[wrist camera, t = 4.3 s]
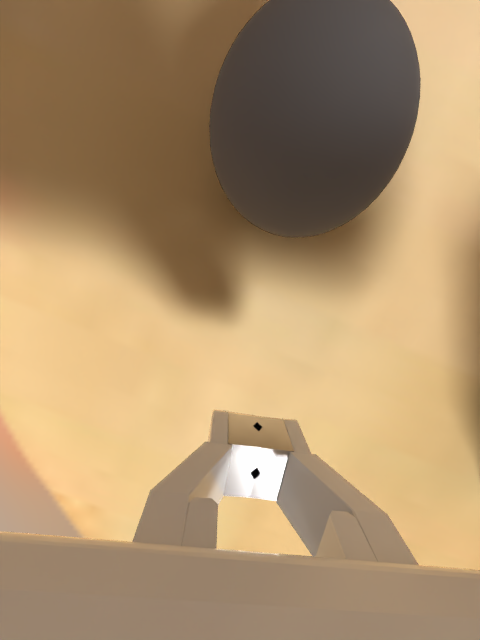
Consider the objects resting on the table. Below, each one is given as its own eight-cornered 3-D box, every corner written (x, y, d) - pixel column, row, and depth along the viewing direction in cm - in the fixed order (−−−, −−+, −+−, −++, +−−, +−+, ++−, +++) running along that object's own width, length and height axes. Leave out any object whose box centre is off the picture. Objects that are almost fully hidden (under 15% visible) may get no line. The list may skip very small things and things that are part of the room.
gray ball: (227, 72, 10) (223, -203, 4) (368, 107, 10) (550, -92, 4) (206, 229, 11) (180, 198, 5) (330, 252, 12) (430, 248, 6)
